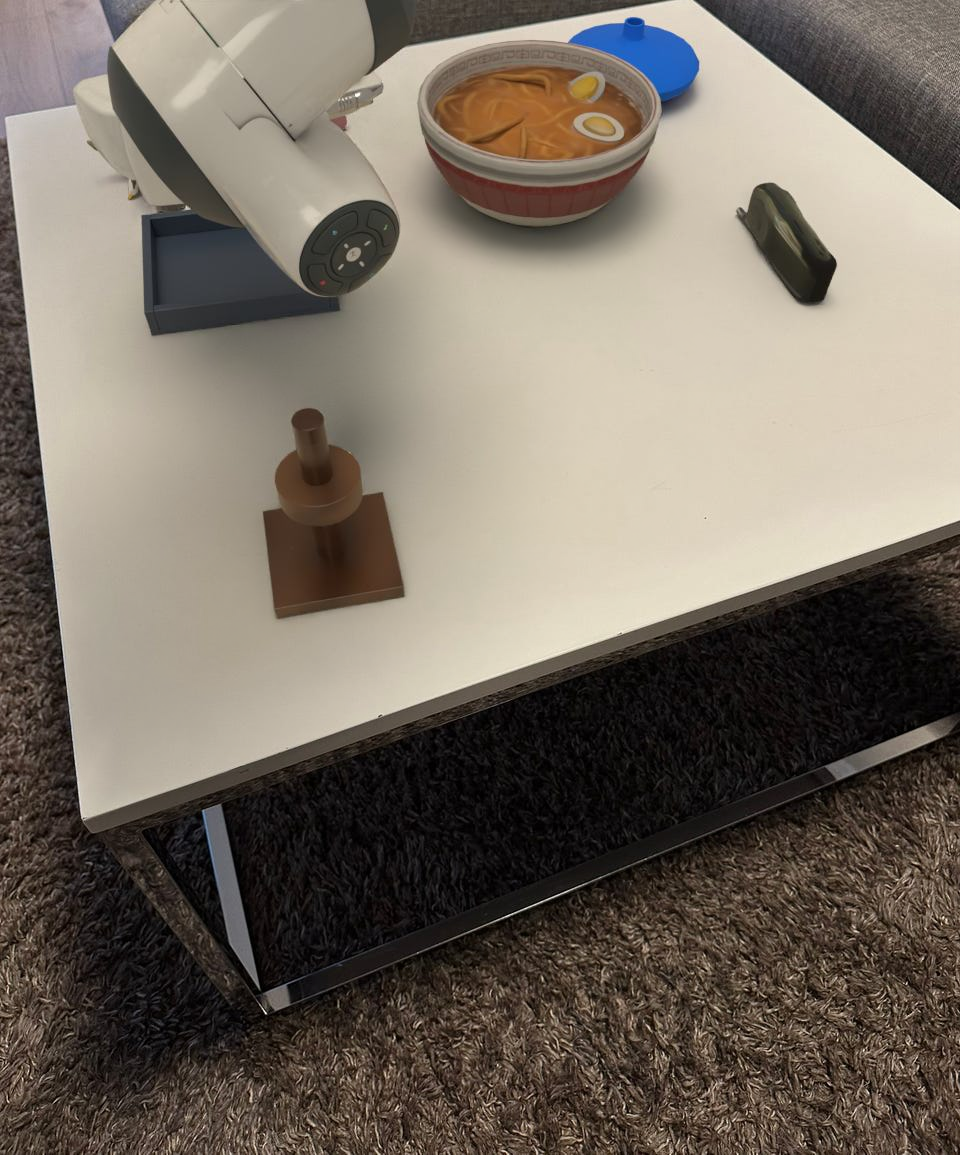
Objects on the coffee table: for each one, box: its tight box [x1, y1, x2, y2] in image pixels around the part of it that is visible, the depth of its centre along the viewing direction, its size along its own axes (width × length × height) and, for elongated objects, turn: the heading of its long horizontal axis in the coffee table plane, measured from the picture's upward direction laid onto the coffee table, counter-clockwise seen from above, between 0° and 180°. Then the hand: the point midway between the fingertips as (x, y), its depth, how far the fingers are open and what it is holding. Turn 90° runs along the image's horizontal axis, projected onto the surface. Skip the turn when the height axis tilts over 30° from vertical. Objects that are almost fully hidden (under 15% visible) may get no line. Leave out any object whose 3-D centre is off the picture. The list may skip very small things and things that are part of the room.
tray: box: [141, 208, 341, 336], centre depth 88 cm, size 17×15×2 cm
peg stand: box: [262, 407, 405, 619], centre depth 64 cm, size 9×9×14 cm
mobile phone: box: [735, 182, 838, 304], centre depth 90 cm, size 5×3×15 cm
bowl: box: [416, 39, 663, 228], centre depth 93 cm, size 23×23×10 cm
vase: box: [567, 16, 700, 102], centre depth 108 cm, size 16×16×7 cm
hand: (190, 45), depth 73 cm, fingers closed on ring, 7 cm apart
